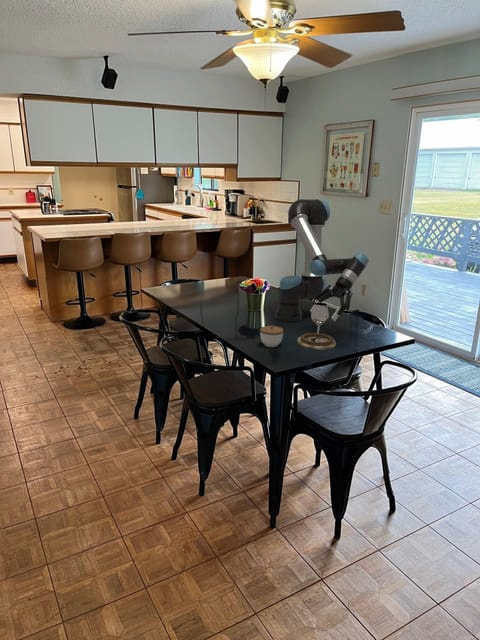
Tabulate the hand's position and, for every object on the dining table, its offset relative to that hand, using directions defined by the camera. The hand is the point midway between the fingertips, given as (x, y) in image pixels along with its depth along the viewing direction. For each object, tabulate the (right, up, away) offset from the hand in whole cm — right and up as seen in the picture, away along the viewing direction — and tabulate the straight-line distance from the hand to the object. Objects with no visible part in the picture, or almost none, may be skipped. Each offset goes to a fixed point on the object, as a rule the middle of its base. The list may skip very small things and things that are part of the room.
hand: (322, 316), depth 224 cm
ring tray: (-2, -13, +3) cm, 13 cm away
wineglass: (-2, -12, +3) cm, 12 cm away
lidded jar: (-24, -14, -1) cm, 28 cm away
